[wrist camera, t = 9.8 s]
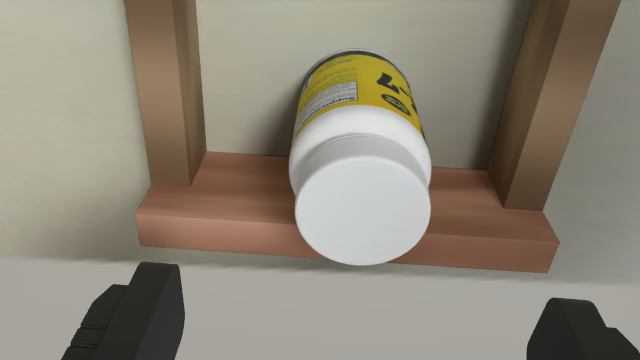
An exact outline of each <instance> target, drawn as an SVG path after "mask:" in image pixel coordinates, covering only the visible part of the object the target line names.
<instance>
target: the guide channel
mask: <svg viewBox="0 0 640 360" xmlns="http://www.w3.org/2000/svg"><path fill="white" fill-rule="evenodd" d="M620 2H621V0H534V2H533V6H532V9H531V13H530V16H529V20H528V23H527V27H526V31H525V34H524V38H523V41H522V45H521V48H520V52H519V55H518V59H517V62H516V66H515V69H514V73H513V77H512V80H511V84H510V87H509V91H508V94H507V98H506V101H505V105H504V108H503V112H502V115H501V119H500V123H499V126H498V130H497V133H496V137H495V140H494V144H493V147H492V151H491V154H490V158H489V161H488V165H487V169H486V170H472V169H457V168H443V167H431V179H430V183H429V186H428V191H429V198H430V204H431V214H430V219H429V223H428V226H427V229H426V231H425V233H424V234H423V236H422V237H421V239H420V240H419V241H418V243H417V244H416V245H415V246H414V247H412V248H411V249H410V250H409V251H408V252H406V253H404V254H403V255H401V256H399V257H397V258H395V259H393V260H390V261H387V262H385V263H400V264H415V265H430V266H445V267H460V268H475V269H490V270H504V271H519V272H534V273H547V272H548V270H549V268H550V265H551V263H552V260H553V258H554V256H555V253H556V251H557V248H558V246H559V244H560V242H559V240H558V238H557V236H556V235H555V233H554V231H553V229H552V228H551V226H550V224H549V222H548V221H547V219H546V217H545V215H544V214H543V212H542V210H543V208H544V205H545V202H546V200H547V197H548V194H549V192H550V189H551V186H552V184H553V181H554V178H555V176H556V173H557V170H558V168H559V165H560V162H561V159H562V157H563V154H564V151H565V149H566V146H567V143H568V141H569V138H570V135H571V133H572V130H573V127H574V125H575V122H576V119H577V117H578V114H579V111H580V109H581V106H582V103H583V101H584V98H585V95H586V93H587V90H588V87H589V85H590V82H591V79H592V77H593V74H594V71H595V69H596V66H597V63H598V61H599V58H600V55H601V53H602V50H603V47H604V45H605V42H606V39H607V37H608V34H609V31H610V29H611V26H612V23H613V21H614V18H615V15H616V13H617V10H618V7H619V5H620ZM124 3H125V9H126V16H127V23H128V29H129V36H130V43H131V50H132V56H133V63H134V70H135V76H136V83H137V90H138V97H139V103H140V110H141V117H142V123H143V130H144V137H145V144H146V150H147V157H148V164H149V170H150V177H151V184H152V185H151V187H150V189H149V190H148V192H147V194H146V196H145V197H144V199H143V201H142V203H141V204H140V206H139V208H138V210H137V211H136V213H135V216H136V222H137V228H138V233H139V239H140V245H141V246H146V247H161V248H176V249H191V250H206V251H221V252H236V253H251V254H265V255H280V256H295V257H310V258H325V259H329V258H327V257H325V256H323V255H321V254H320V253H318V252H317V251H315V250H314V249H313V248H312V247H311V246H310V245H309V244H308V243H307V242H306V240H305V239H304V238H303V237H302V235H301V233H300V231H299V229H298V226H297V223H296V219H295V198H296V195H295V194H294V191H293V189H292V186H291V183H290V177H289V157H280V156H266V155H251V154H236V153H221V152H207V151H206V138H205V124H204V111H203V97H202V84H201V70H200V57H199V43H198V30H197V16H196V3H195V0H124Z"/></svg>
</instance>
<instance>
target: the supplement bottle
mask: <svg viewBox="0 0 640 360" xmlns="http://www.w3.org/2000/svg"><path fill="white" fill-rule="evenodd" d="M289 177H290V183H291V186H292V189H293V191H294V194H295V195H296V198H295V219H296V223H297V226H298V229H299V231H300V233H301V235H302V237H303V238H304V239H305V240H306V242H307V243H308V244H309V245H310V246H311V247H312V248H313V249H314V250H315V251H317V252H318V253H320V254H321V255H323V256H325V257H327V258H329V259H331V260H334V261H336V262H340V263H344V264H349V265H361V266H366V265H374V264H380V263H384V262H387V261H390V260H393V259H395V258H397V257H399V256H401V255H403V254H404V253H406V252H408V251H409V250H410V249H411V248H412V247H414V246H415V245H416V244H417V243H418V241H419V240H420V239H421V237H422V236H423V234H424V233H425V231H426V229H427V226H428V223H429V219H430V214H431V204H430V198H429V191H428V186H429V183H430V179H431V159H430V153H429V149H428V146H427V142H426V140H425V136H424V133H423V129H422V126H421V123H420V119H419V116H418V113H417V110H416V106H415V103H414V100H413V96H412V93H411V90H410V87H409V84H408V82H407V79H406V78H405V76H404V74H403V73H402V71H401V70H400V69H399V68H398V66H397V65H396V64H395V63H393V62H392V61H391V60H390V59H388V58H387V57H385V56H384V55H382V54H380V53H378V52H375V51H371V50H367V49H346V50H342V51H338V52H335V53H333V54H331V55H329V56H327V57H325V58H324V59H322V60H321V61H320V62H319V63H317V64H316V65H315V66H314V67H313V69H312V70H311V71H310V72H309V74H308V75H307V77H306V79H305V81H304V84H303V86H302V89H301V94H300V98H299V105H298V111H297V116H296V122H295V128H294V134H293V140H292V146H291V152H290V157H289Z"/></svg>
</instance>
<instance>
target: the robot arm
mask: <svg viewBox="0 0 640 360" xmlns="http://www.w3.org/2000/svg"><path fill="white" fill-rule="evenodd" d="M184 311H185V310H184V303H183V294H182V286H181V277H180V270H179V266H178V265H177V264H166V263H154V262H141V263H140V264H139V265H138V267H137V269H136V271H135V273H134V275H133V277H132V279H131V281H130V283H129V285H116V284H113V285H112V286H111V287H109V288H108V289H107V290H106V291H105V292H104V293H103V294H101V295H100V296H99V297H98V298H97V299H96V300H95V301H94V302H93V303H92V305H91V307H90V308H89V310H88V312H87V314H86V315H85V317H84V319H83V321H82V323H81V327H80V328H79V329H78V330H77V332H76V334H75V335H74V337H73V339H72V341H71V345H70V347H68V348H67V350H66V352H65V353H64V355H63V357H62V359H61V360H174V359H175V356H176V353H177V350H178V347H179V344H180V341H181V338H182V334H183V328H184V320H185V312H184ZM527 360H640V353H639V351H638V350H637V349H636V348H635V347H634V346H633V345H632V344H631V343H630V342H629V341H628V340H627V339H626V338H625V337H624V336H623V335H622V334H621V333H620V332H619V331H618V330H617V329H616V328H609V327H606V325H605V323H604V321H603V319H602V318H601V316H600V314H599V312H598V310H597V308H596V307H595V305H594V304H593V303H592V302H590V301H587V300H576V299H565V298H551V299H550V300H549V301H548V302H547V304H546V306H545V308H544V310H543V312H542V314H541V317H540V319H539V321H538V323H537V325H536V327H535V329H534V331H533V334H532V335H531V338H530V340H529V342H528V346H527Z"/></svg>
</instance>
